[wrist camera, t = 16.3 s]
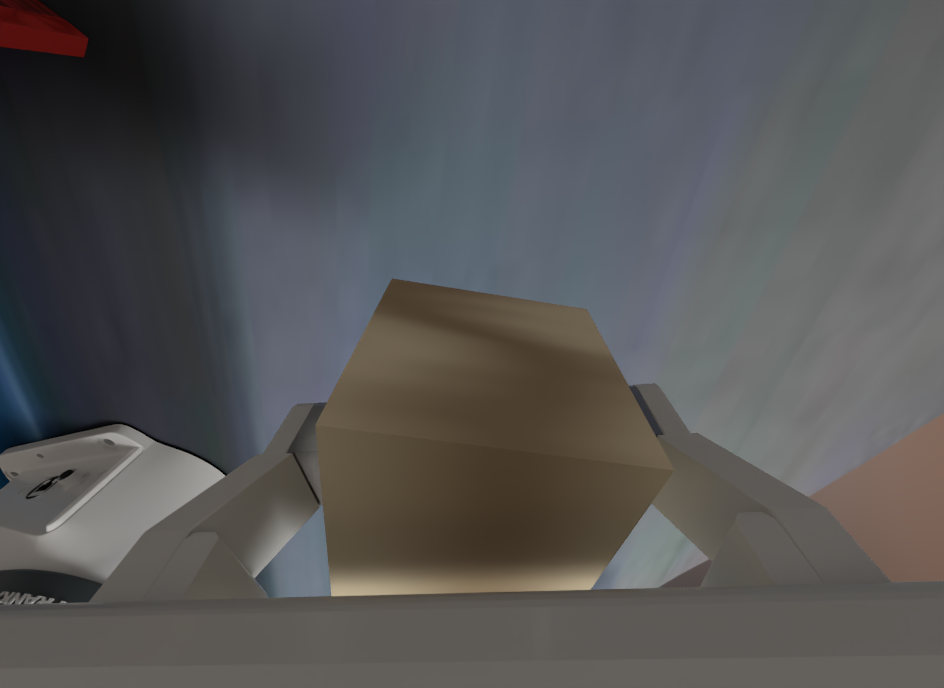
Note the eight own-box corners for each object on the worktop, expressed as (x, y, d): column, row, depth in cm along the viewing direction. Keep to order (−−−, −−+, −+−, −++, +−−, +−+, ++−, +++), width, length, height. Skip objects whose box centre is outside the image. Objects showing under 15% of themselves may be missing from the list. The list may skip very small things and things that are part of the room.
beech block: (385, 422, 12) (332, 599, 7) (391, 278, 9) (315, 425, 5) (537, 442, 12) (567, 620, 8) (586, 309, 9) (674, 470, 5)
